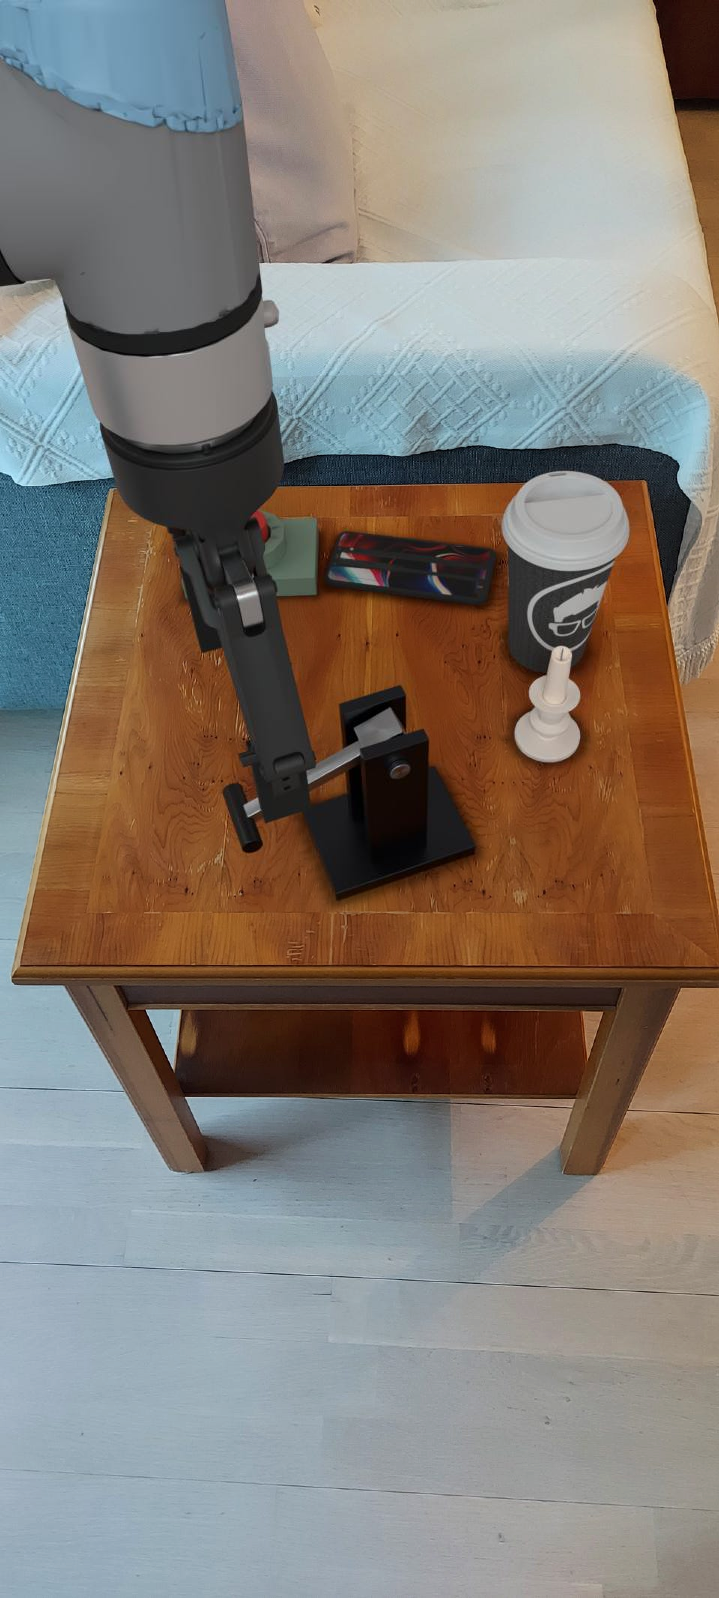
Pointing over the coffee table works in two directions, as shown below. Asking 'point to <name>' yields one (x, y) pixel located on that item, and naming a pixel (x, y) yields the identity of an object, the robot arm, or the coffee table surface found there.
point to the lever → (310, 776)
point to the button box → (291, 555)
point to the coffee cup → (559, 562)
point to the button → (262, 524)
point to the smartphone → (411, 567)
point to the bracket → (386, 808)
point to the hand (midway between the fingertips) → (251, 722)
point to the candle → (551, 713)
